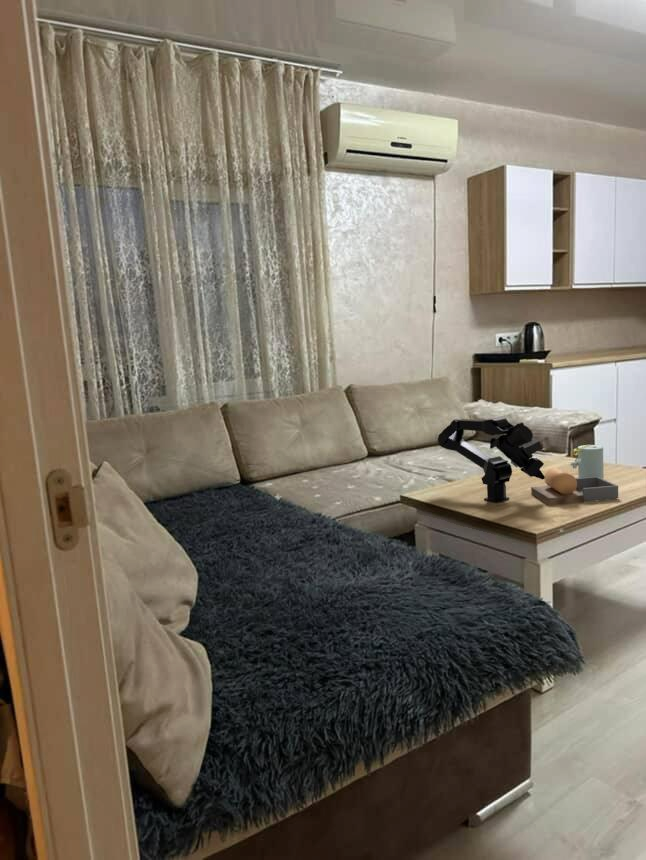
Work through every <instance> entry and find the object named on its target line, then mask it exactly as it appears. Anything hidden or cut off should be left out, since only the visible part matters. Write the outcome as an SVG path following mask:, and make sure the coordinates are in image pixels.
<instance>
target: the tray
mask: <svg viewBox="0 0 646 860" xmlns="http://www.w3.org/2000/svg"><path fill="white" fill-rule="evenodd" d="M575 478H576V477H575ZM576 480H577V487H576V489H575V491H577V492H579V493H581V494H583V495H584V502H583V503H585V502H597V501H596V500H599V501H607V500H606V499H611V500H616V499H615V498H618V499H619V485H617V484H616V483H615V484H614V483H613V482H611V481H608V480H606V479H605V478H604V479H602V478H600V477H587V478H578V477H577V478H576Z"/></svg>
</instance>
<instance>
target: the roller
mask: <svg viewBox="0 0 646 860" xmlns="http://www.w3.org/2000/svg"><path fill="white" fill-rule="evenodd" d="M544 476H545V478H544V479H543V480H544V482H545V484H546V486H550V487H551V488H553V489H555V490H557V491H558V492H560V493H562V494H565V495H567V494H571V493H573V492H574V491H575V489H576V487H577V480H576V477H575V476H573V475H572V474H570V473H568V472H566V471H564V470H561V469H559V468H557V467H552V468H549V469H548V470H547V471H546V472H545V474H544Z"/></svg>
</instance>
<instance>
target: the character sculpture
mask: <svg viewBox="0 0 646 860" xmlns="http://www.w3.org/2000/svg"><path fill="white" fill-rule="evenodd" d="M572 454H573V456H577V458H575V460H574V461H571V462H570V466H572V468H573V469H577V468H578V469H577V470H578V471H577V473H578V477H577V478H587V477H600V478H602V479H604V480H605V478H604V447H603V445H597V444H585V445H583V444H582V445H579V446H578V447H577V448H574V449H573V451H572Z"/></svg>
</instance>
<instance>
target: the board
mask: <svg viewBox="0 0 646 860" xmlns="http://www.w3.org/2000/svg"><path fill="white" fill-rule="evenodd" d="M530 491H531V495H533V496H534V497H536V498H538V499H539V500H540V501H542V502H543V503H545V504H546V505H547V506H556V505H557V504H559V505H568V504H569V505H570V503H571V504H580V503H585V502H584V495H583V494H581V493H579V492H577V491H574V492H573V493H571V494H567V495H565V494H562V493H560V492H558V491H557V490H555V489H553V488H551V487H550V486H548V485H542V486H541V485H540V486H531V487H530Z"/></svg>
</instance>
